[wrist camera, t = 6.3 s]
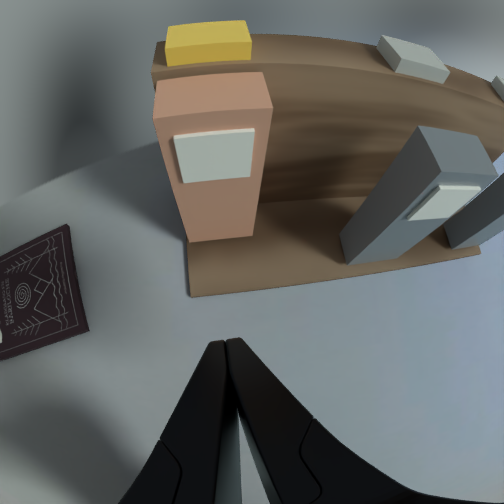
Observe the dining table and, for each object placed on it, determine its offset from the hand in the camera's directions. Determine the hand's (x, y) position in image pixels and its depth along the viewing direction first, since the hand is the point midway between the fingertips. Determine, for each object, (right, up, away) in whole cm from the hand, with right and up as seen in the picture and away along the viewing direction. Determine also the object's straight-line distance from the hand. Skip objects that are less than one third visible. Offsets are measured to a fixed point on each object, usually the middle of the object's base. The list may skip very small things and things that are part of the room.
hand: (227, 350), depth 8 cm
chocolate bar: (-21, -2, +12) cm, 24 cm away
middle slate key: (+10, +3, +14) cm, 17 cm away
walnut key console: (+9, +5, +16) cm, 19 cm away
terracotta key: (-2, +4, +15) cm, 15 cm away
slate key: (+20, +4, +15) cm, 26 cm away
